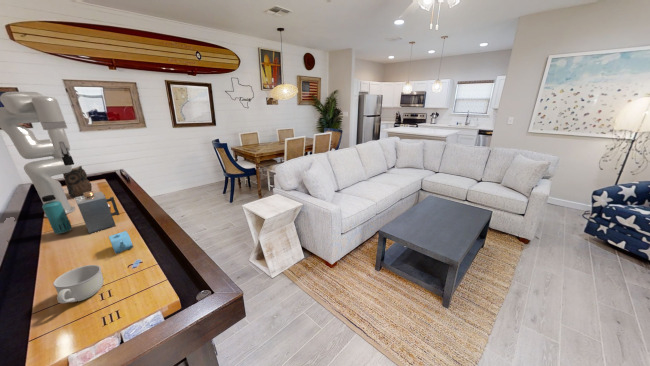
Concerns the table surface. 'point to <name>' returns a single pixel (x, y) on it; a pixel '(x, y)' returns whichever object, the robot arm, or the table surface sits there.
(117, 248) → the printed blue cube
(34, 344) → the table surface
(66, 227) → the beverage bottle
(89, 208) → the coffee press
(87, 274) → the teacup
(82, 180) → the owl
